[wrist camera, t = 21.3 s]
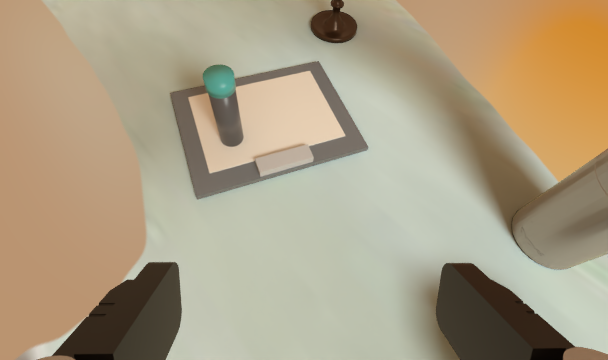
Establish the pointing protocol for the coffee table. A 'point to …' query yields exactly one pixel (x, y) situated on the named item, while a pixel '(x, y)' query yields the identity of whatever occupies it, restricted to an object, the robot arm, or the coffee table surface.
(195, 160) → the clipboard
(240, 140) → the marker
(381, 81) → the coffee table surface
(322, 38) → the candlestick
